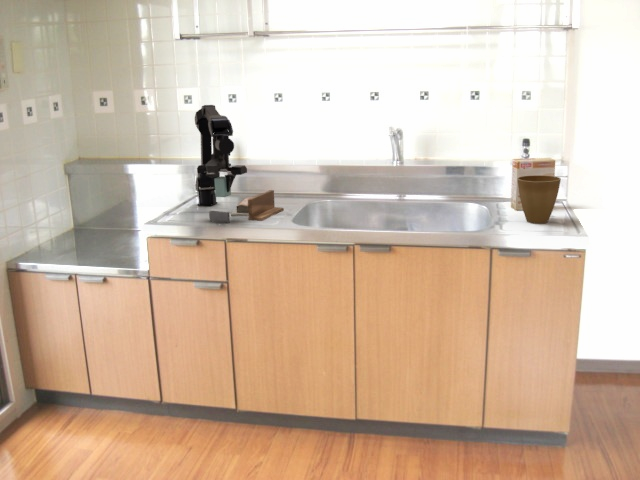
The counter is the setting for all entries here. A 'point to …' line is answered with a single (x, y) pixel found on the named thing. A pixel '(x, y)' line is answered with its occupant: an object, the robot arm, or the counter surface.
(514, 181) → the coffeecake box
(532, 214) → the plant pot
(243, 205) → the packaged product
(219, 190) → the pale teal block
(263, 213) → the walnut bookend
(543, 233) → the counter surface
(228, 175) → the robot arm
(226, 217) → the block
